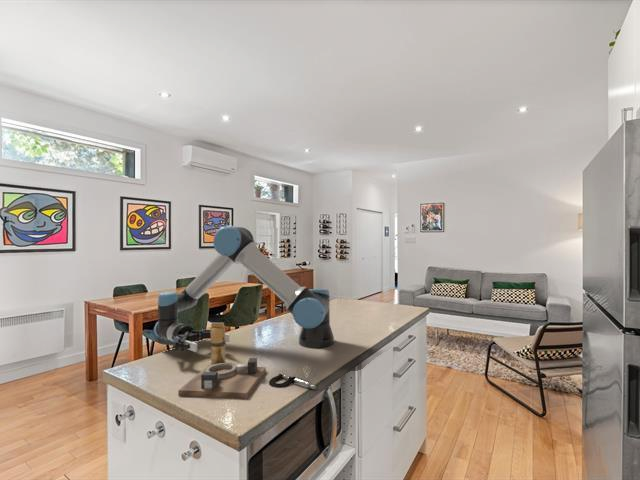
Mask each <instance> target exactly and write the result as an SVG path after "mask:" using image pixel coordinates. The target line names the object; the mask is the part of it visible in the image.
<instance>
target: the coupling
mask: <svg viewBox="0 0 640 480" xmlns="http://www.w3.org/2000/svg"><path fill="white" fill-rule="evenodd" d="M209 330H210V333H211V339H210V342H209V345H210V365H214V364H219V363H226V344H227V342H226V340H225V334H226V326H225V322H212V323H211V326H210V328H209Z"/></svg>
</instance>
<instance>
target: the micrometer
mask: <svg viewBox="0 0 640 480" xmlns="http://www.w3.org/2000/svg"><path fill="white" fill-rule="evenodd" d="M280 379H284V380H286V381H283V382H282V383H277V381H280ZM291 384H294V385H297V386H299V387H302V388H304V389H307V390H309V389H312V390H313V391H315V390H316V384H313V382H312V381H308V380H305V379H303V378H299V377H296V376H295V375H294V374H291V375H289V376H288V375H285V374H282V373H279V374H277V375H275V376H274V377H272V378H270V380H269V381H268V385H269V386H270V387H271V388H275V389H276V388H279V389H280V388H282V389H283V388H286V387H289V386H290V385H291Z"/></svg>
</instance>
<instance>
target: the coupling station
mask: <svg viewBox="0 0 640 480" xmlns="http://www.w3.org/2000/svg"><path fill="white" fill-rule="evenodd" d="M248 358H249V359H248V361H247V363H240V364H239V363H238V364H237V365H236V364H234V363H232V362H225V363H219V364H214V365H211V364H210V365H206V367H205V368H204V369H203V370H200V372H199V373H198V374H196V375H195V376H194V377H193V378H192V379H190V380H189V381H187V383H185V384H184V385H183V386H181V387H180V388H179V389H178V390H177V392H178V393H177V394H178V395H180V397H182V396H183V397H202V398H203V397H204V398H231V399H247V398H248V397H249V396H250V394H252V392H253V391H254V389H255V388H256V386H257V385H258V383H259V382H260V381H261V379H262V377H264V375H265V373H266V371H267V369H266V366H258V357H248Z"/></svg>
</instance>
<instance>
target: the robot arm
mask: <svg viewBox="0 0 640 480" xmlns="http://www.w3.org/2000/svg"><path fill="white" fill-rule="evenodd" d="M213 247H214V250H215V251H216V252H217V253H218V255H216V257H214V258H213V260H212V261H210V263H208V265H207V266H206V267H205V268H204V269H203V270H202V271H200V273H198V275H197V276H196V277H195V278H194V279H192V281H191V282H190V283H189V284H188V285H187V286H186V287H185V288H184V289H183V290H182V291H181V292H180V293H178V292H176V291H165V292H161V293H159V294H158V298H157V300H158V302H157V312H158V319H157V322H156V323H155V325H154V327H153V333H154V335H155V336H156V337H157V338H159V339H161V340H165V341H166V340H167V341H169V342H171V344H173V348H174V350H175V351H177V350H179V349H180V351H181V352H184V350H188V351H192V352H194V353H197V352H198V343H197V342H195V341H203V340H204V339H205V340H206V339H207V340H209V339H210V340H211V333H210V329H205V328H201V329H200V330H196V329H194V328H193V326H191V325H188V324H186V323H185V324H184V323H180V322H179V313H180V312H182V311H185V310H189V309H191V308H193V307H195V306H196V305H197V304H198V301H199V299H200V298H201V297H202V296H203V295H204V294H205V293H206V292H207V291H208V289H210V288H211V287H212V286H213V285H214V284H215V283H216V282H217V281H218V280H219V279H220V278H221V276H223V275H224V274H225V272H226V273H227V272H228V270H229V269H230V268H231V267H232V266H233V265H234V264H235V265H236V264H237V265H242V266H244V268H245V269H247V270H248V271H249V272H250V273H251V274H253V276H255V277H256V279H258V280H259V281H260V282H261V283H262V284H263V285H265V286H266V287H267V288H268V289H269V290H270V291H271V292H272V293H273V294H275V295H276V296H277V297H278V298H279V299H280V300H281V301H282V302H284V304H285V308H286V310H287V311H288V312H289V313H290V314H291V316H292V317H293V320H294V322H295V323H296V324H297V325H298V326H299V327H301V328H300V329H301V330H300V333H299V336H298V344H299V345H300V346H302V347H306V348H314V349H315V348H325V347H329V345H330V346H332V345H334V343H335V336H334V334H333V331H332V330H333V329H332V328H331V322H330V321H331V319H330V316H331V315H330V310H331V309H330V298H331V296H330V291H329V289H326V288H325V289H324V288H319V289H317V288H314V289H313V288H312V289H311V288H310V289H309V288H308V287H307V286H300V285H299V284H298V283H297V282H296V281H294V280H293V279H292V278H291V277H290V276H289V275H287V274H286V273H285V272H284V271H283V270H282V269H281V268H280V267H278V266H277V265H276V263H274V262H273V261H272V260H270V259H269V258H268V256H266V255H265V254H264V253H263V252H261V251H260V250H259V249H258V248H257V243H256V241H255V240H254V236H253V234H252V232H251V231H250V230H249V229H247V228H245V227H242V226H240V227H238V226H234V225H227V226H222V227H220V228H219V229H218V230H217V231H216V232H215V234H214V236H213ZM230 339H231V338H230V334H229V333H225V340H226V343H229V342H230ZM331 344H332V345H331Z"/></svg>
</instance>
